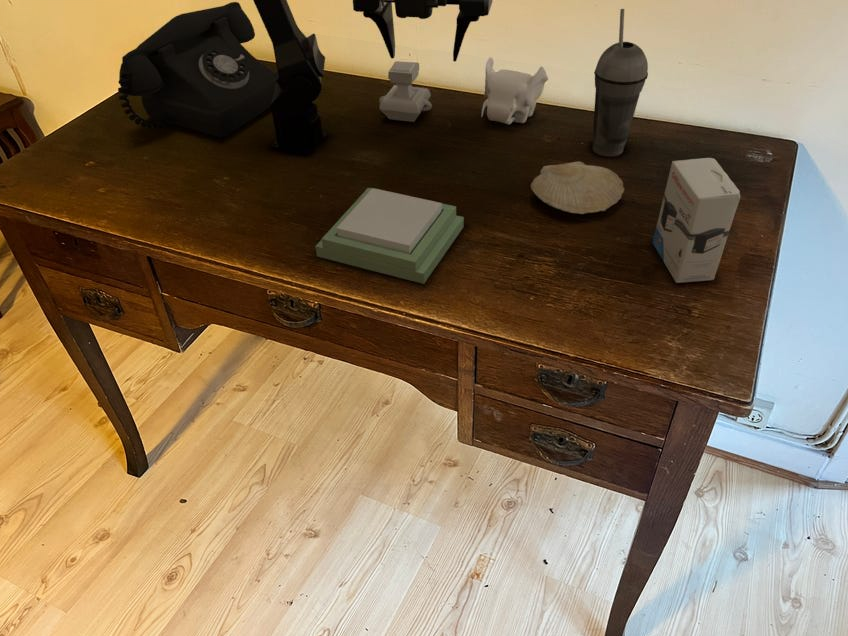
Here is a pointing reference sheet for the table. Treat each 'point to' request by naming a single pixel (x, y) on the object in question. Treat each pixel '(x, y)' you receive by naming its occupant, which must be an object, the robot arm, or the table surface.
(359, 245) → the scale
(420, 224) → the square push button
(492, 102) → the elephant figurine
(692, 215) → the ink box
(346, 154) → the table surface
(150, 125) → the rotary telephone
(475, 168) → the table surface
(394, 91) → the grey blocky piece
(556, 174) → the seashell
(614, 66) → the beverage cup
